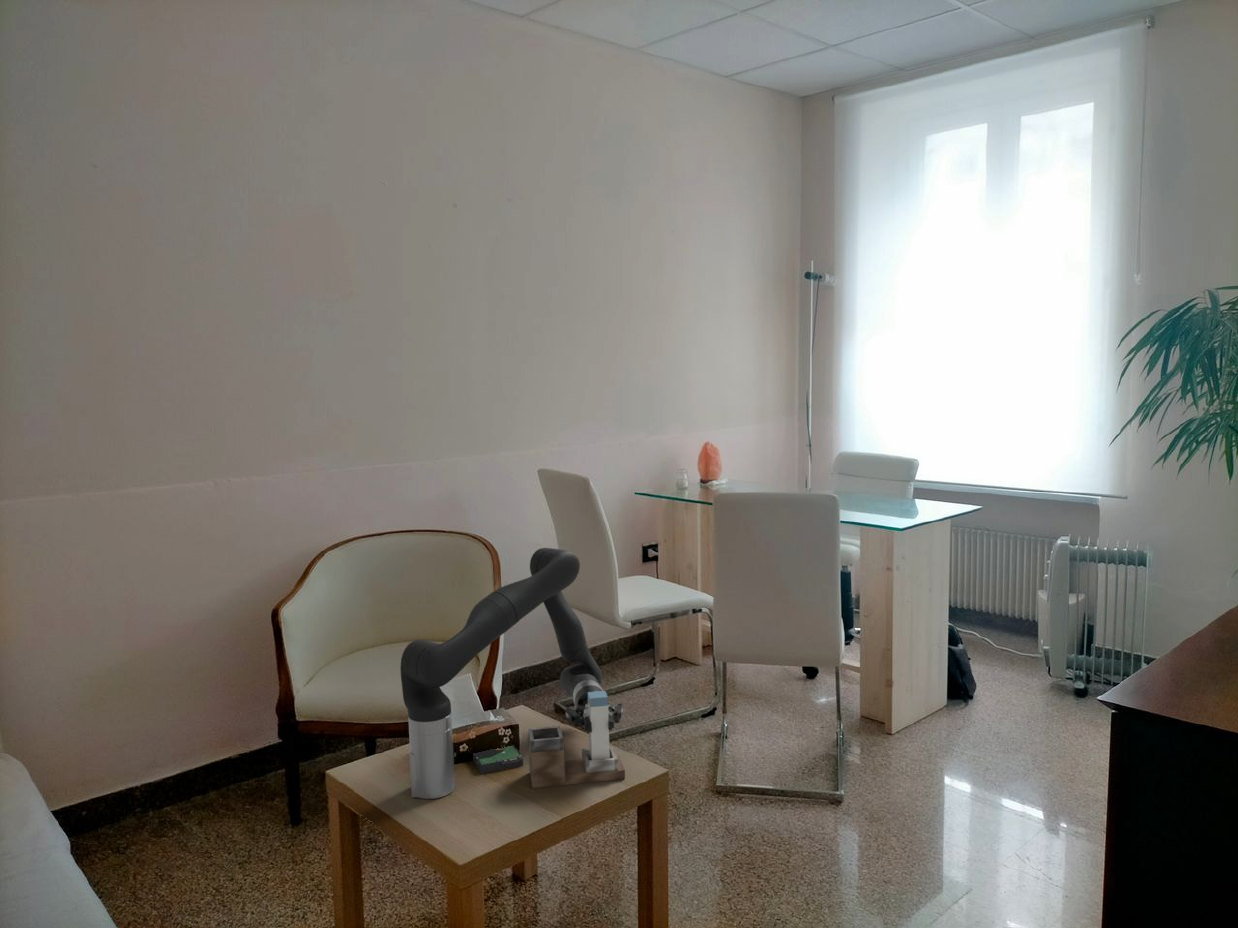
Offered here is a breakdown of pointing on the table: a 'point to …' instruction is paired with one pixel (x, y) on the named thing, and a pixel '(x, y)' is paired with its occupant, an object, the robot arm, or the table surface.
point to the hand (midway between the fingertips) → (600, 726)
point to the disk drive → (497, 759)
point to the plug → (598, 725)
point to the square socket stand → (556, 771)
